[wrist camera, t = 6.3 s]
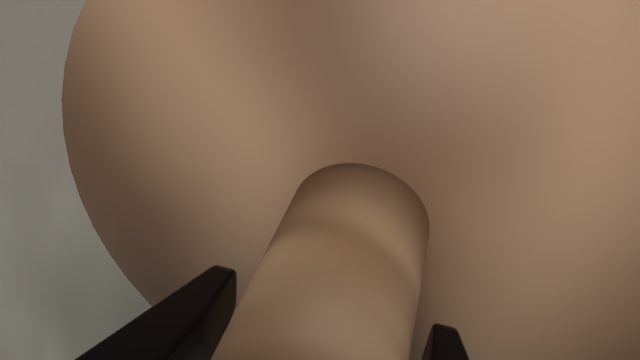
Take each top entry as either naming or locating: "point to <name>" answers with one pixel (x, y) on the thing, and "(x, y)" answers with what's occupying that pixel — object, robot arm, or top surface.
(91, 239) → the top surface
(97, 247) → the top surface
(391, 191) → the lid
